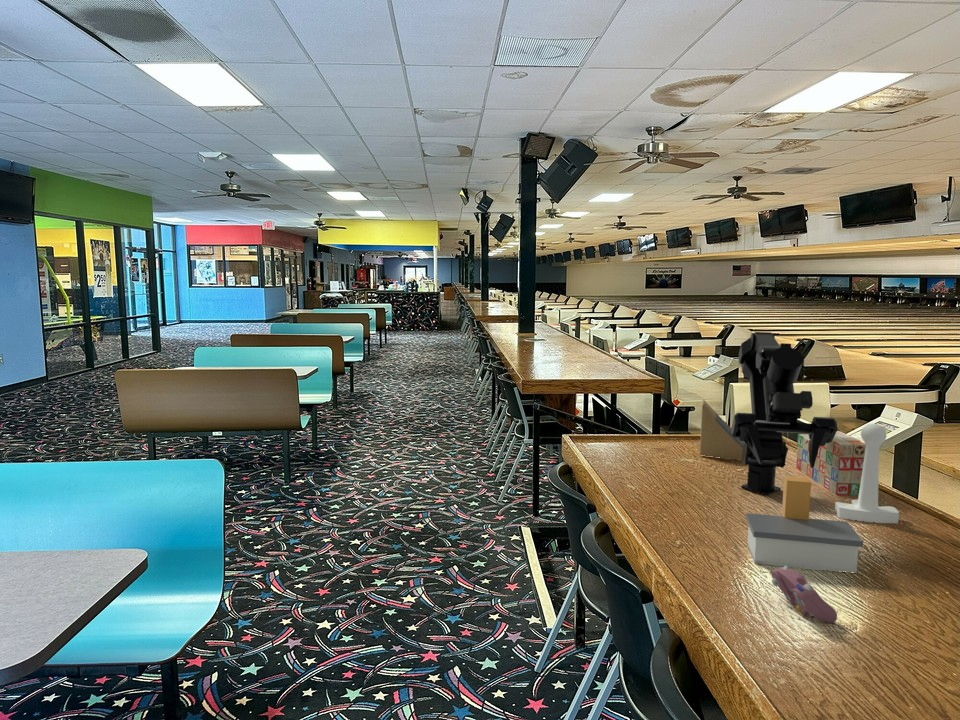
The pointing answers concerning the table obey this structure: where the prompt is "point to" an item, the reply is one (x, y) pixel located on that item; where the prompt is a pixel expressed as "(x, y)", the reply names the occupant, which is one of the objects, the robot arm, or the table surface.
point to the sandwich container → (718, 436)
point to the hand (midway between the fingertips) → (786, 465)
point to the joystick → (869, 484)
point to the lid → (801, 520)
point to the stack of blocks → (834, 463)
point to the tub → (802, 554)
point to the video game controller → (802, 594)
